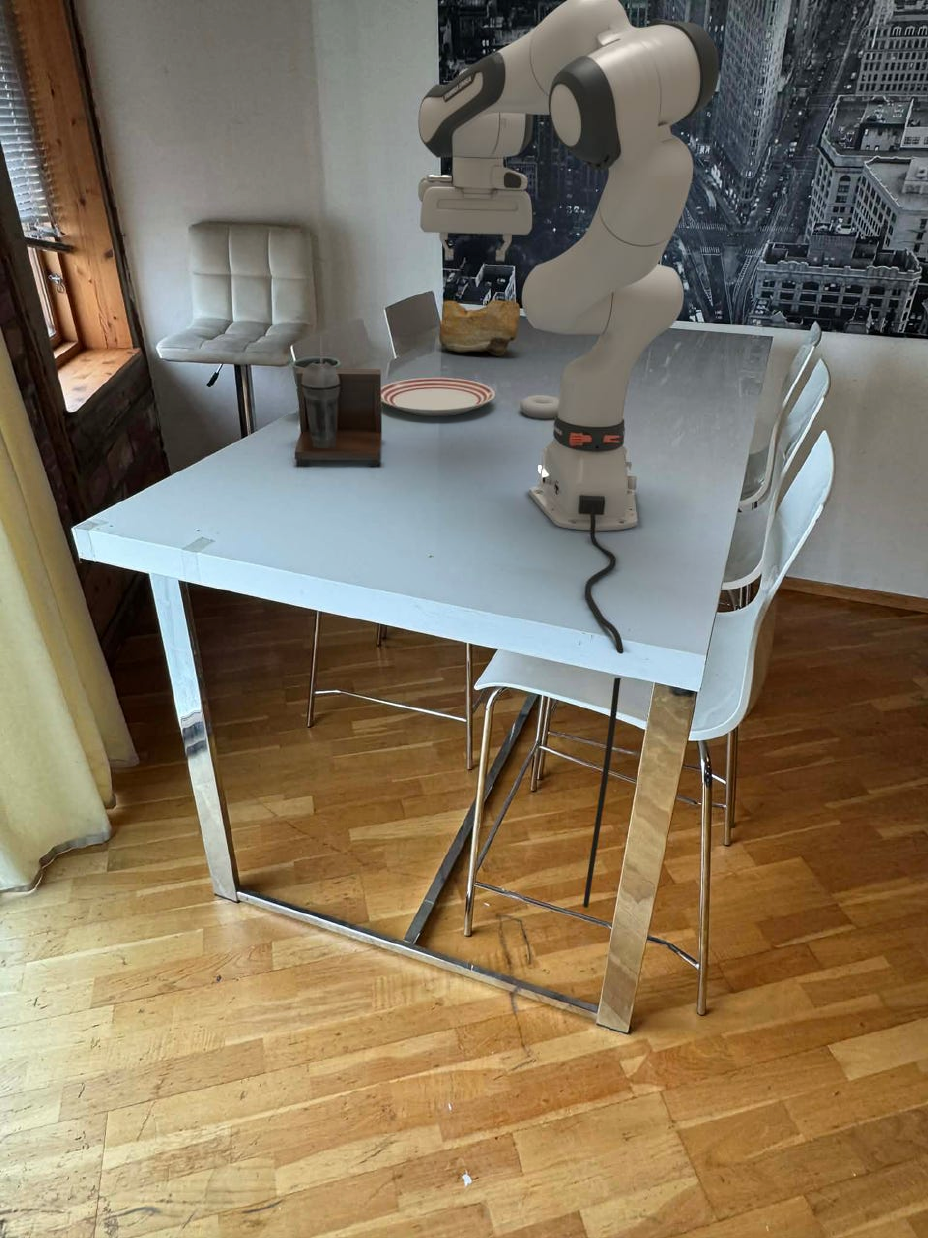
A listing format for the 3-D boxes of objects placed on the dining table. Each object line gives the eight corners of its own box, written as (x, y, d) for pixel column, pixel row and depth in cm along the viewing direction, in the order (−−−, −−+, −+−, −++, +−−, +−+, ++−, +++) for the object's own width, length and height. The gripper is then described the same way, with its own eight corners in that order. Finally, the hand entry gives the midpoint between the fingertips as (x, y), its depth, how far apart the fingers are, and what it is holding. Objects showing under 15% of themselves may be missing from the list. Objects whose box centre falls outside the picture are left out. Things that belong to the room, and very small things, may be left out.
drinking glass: (351, 415, 188) (349, 360, 182) (323, 427, 180) (319, 370, 174) (315, 407, 192) (312, 354, 186) (286, 418, 184) (281, 363, 178)
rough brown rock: (529, 352, 249) (532, 298, 242) (513, 359, 234) (516, 302, 228) (455, 346, 255) (456, 293, 249) (435, 353, 241) (436, 297, 235)
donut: (516, 419, 190) (561, 422, 188) (517, 403, 188) (562, 406, 186) (522, 406, 198) (565, 409, 196) (523, 391, 196) (566, 394, 195)
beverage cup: (298, 447, 160) (290, 338, 149) (315, 436, 166) (308, 330, 155) (333, 452, 158) (328, 342, 148) (349, 440, 164) (345, 334, 154)
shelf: (380, 467, 160) (379, 389, 153) (295, 466, 159) (289, 389, 152) (382, 441, 173) (380, 369, 166) (303, 441, 172) (298, 368, 165)
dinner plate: (359, 416, 188) (359, 401, 186) (396, 384, 211) (396, 371, 209) (480, 428, 182) (480, 413, 181) (504, 395, 205) (505, 381, 204)
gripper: (418, 175, 145) (418, 261, 152) (536, 178, 147) (530, 263, 154) (418, 173, 151) (417, 256, 158) (531, 176, 152) (526, 259, 159)
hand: (474, 260), depth 156 cm, fingers open, 8 cm apart
